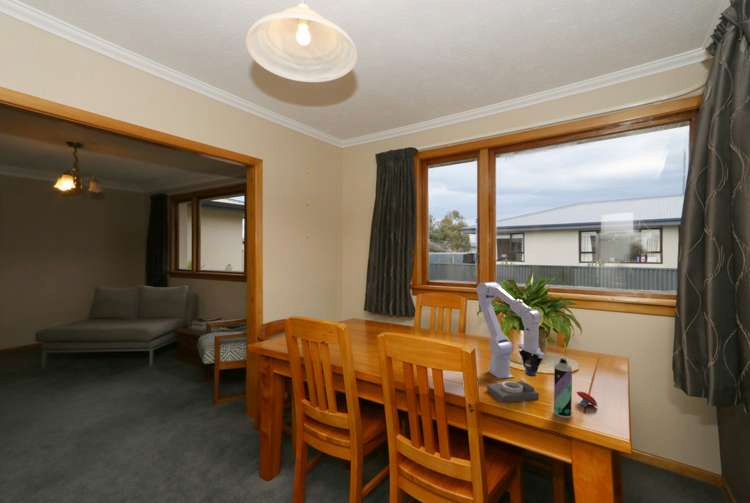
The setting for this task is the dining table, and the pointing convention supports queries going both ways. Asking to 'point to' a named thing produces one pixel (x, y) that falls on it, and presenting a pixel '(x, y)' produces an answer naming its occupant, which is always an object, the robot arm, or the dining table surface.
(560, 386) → the spray can
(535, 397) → the camera body
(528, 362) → the lens
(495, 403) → the dining table surface
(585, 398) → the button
